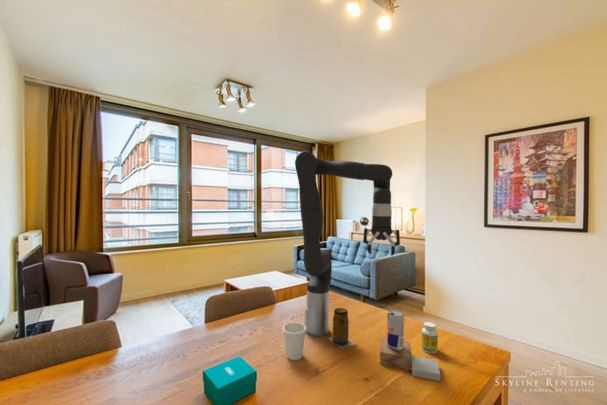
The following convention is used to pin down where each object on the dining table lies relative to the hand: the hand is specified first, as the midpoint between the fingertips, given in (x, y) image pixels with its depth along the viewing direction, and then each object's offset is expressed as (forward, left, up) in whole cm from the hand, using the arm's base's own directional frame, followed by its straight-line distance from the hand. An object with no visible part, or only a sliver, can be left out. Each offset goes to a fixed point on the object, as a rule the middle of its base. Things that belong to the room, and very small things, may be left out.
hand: (381, 254), depth 111 cm
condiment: (-14, -10, -33) cm, 38 cm away
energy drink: (+6, -15, -29) cm, 33 cm away
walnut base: (+6, -15, -33) cm, 37 cm away
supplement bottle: (+18, -5, -33) cm, 38 cm away
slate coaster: (+15, -19, -33) cm, 41 cm away
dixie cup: (-28, -25, -33) cm, 50 cm away
